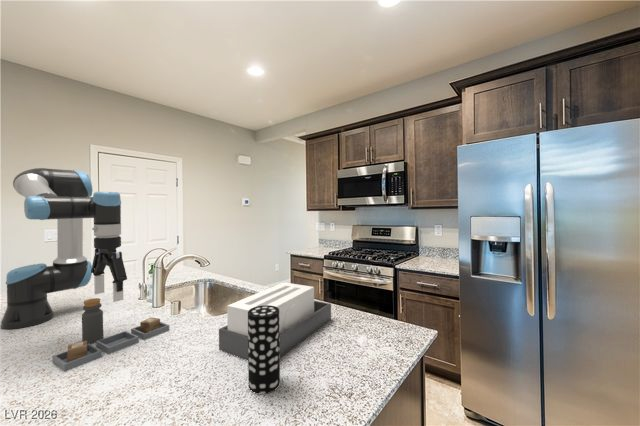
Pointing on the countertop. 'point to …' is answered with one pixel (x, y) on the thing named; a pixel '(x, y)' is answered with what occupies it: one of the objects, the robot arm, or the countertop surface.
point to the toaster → (285, 296)
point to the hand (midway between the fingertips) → (108, 296)
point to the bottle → (92, 321)
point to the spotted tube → (263, 349)
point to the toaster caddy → (288, 338)
